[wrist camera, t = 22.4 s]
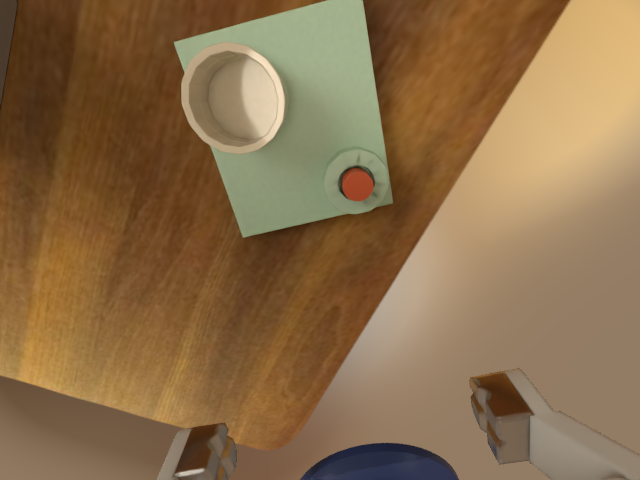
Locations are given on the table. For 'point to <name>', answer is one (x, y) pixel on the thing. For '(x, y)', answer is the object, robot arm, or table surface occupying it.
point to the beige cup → (234, 98)
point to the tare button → (357, 184)
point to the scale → (307, 118)
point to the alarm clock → (6, 36)
